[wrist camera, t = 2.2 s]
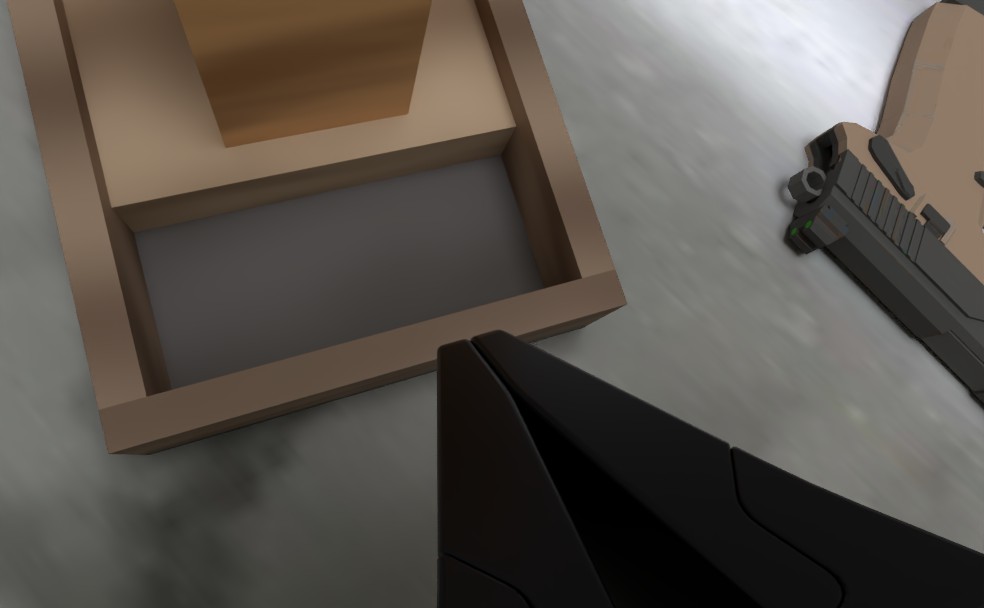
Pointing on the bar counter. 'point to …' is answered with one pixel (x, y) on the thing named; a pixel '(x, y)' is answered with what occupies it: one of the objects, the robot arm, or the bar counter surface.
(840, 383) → the bar counter surface
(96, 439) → the bar counter surface
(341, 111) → the block
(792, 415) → the bar counter surface
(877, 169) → the handgun
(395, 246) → the tray box
